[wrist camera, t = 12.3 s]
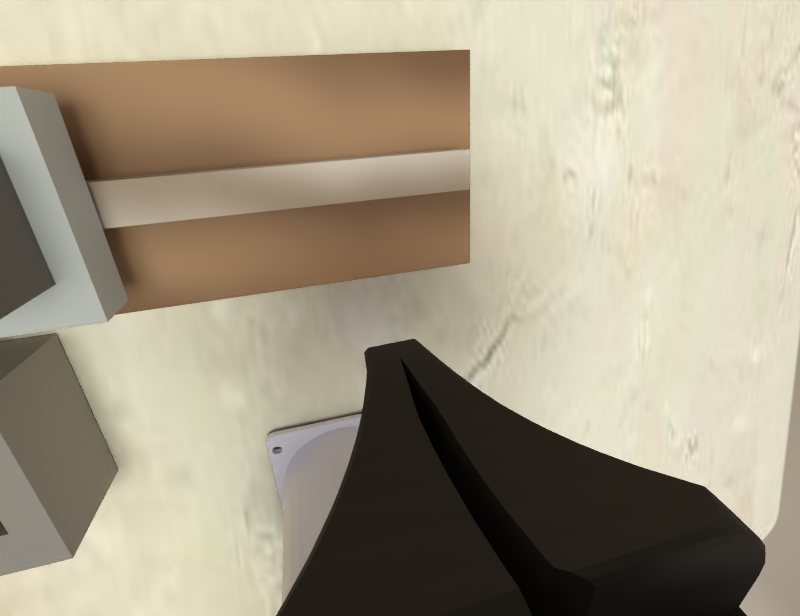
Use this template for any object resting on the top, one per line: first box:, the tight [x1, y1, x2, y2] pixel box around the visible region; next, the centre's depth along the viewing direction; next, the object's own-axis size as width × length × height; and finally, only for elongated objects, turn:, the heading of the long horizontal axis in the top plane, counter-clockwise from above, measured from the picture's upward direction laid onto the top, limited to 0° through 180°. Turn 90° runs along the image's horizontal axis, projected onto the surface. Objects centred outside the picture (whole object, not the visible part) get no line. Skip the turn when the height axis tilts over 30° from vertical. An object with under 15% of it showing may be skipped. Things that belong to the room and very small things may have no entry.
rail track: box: [0, 50, 470, 315], centre depth 16 cm, size 9×25×3 cm, turn 94°
